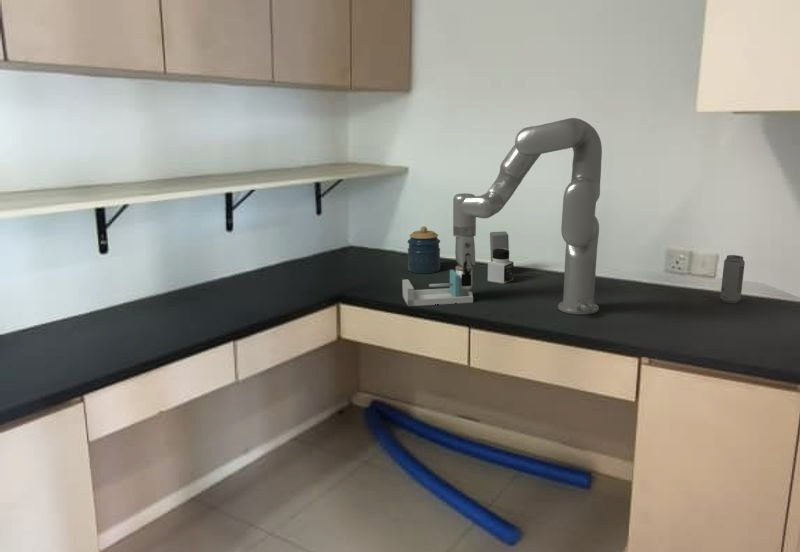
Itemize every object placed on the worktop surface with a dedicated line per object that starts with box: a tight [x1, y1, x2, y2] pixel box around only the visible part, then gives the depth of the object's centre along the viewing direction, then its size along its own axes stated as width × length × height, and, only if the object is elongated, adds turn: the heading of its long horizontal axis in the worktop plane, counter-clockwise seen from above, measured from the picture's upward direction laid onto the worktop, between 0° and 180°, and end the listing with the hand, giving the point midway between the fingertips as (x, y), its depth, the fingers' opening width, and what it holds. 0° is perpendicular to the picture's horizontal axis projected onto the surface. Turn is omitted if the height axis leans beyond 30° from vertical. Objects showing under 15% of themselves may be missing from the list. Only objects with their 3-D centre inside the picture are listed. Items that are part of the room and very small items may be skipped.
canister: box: [407, 225, 441, 274], centre depth 272 cm, size 13×13×18 cm
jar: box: [455, 264, 474, 290], centre depth 233 cm, size 6×6×7 cm
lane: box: [402, 278, 474, 307], centre depth 233 cm, size 12×22×6 cm, turn 98°
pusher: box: [428, 269, 459, 297], centre depth 233 cm, size 9×9×8 cm
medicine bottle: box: [487, 248, 514, 284], centre depth 255 cm, size 7×7×12 cm
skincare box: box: [489, 230, 510, 262], centre depth 267 cm, size 8×7×16 cm
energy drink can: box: [719, 254, 745, 304], centre depth 224 cm, size 6×6×15 cm
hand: (464, 282), depth 234 cm, fingers closed on jar, 5 cm apart
